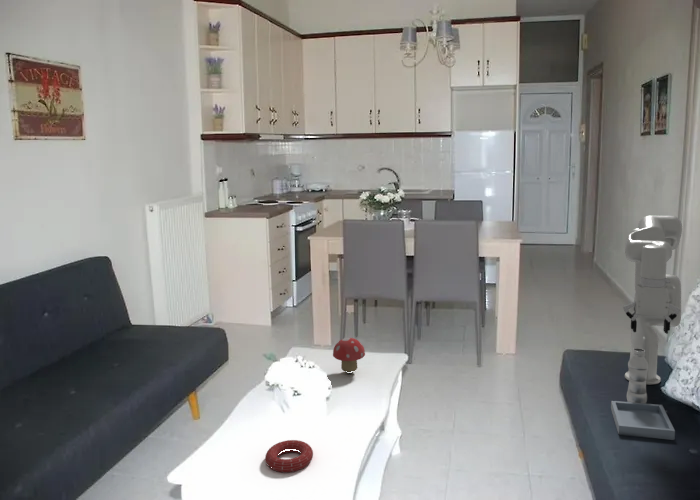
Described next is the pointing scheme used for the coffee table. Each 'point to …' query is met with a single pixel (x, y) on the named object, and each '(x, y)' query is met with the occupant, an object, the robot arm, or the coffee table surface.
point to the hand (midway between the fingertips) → (649, 331)
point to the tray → (642, 420)
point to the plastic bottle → (637, 377)
